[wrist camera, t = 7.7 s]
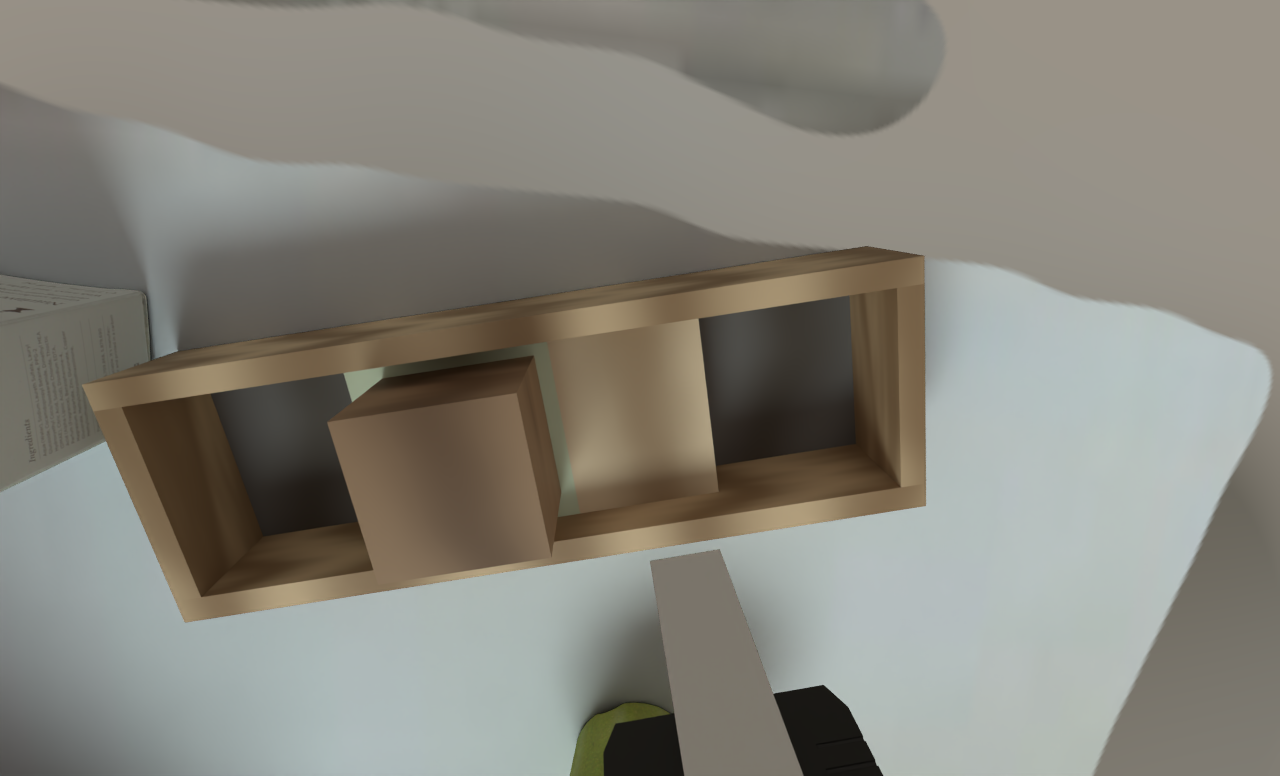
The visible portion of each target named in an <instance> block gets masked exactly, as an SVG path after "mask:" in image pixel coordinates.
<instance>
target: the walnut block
mask: <svg viewBox="0 0 1280 776" xmlns="http://www.w3.org/2000/svg"><path fill="white" fill-rule="evenodd" d="M327 423H328V427H329V430H330V433H331V436H332V439H333V443H334V446H335V449H336V452H337V455H338V459H339V462H340V465H341V468H342V471H343V474H344V478H345V481H346V484H347V487H348V490H349V494H350V497H351V500H352V503H353V506H354V509H355V513H356V516H357V519H358V522H359V525H360V529H361V532H362V535H363V538H364V541H365V544H366V548H367V551H368V554H369V557H370V560H371V564H372V567H373V570H374V573H375V576H376V579H377V583H378V585H380V584H386V583H393V582H399V581H405V580H412V579H418V578H425V577H431V576H437V575H444V574H450V573H457V572H463V571H469V570H476V569H482V568H489V567H495V566H502V565H508V564H514V563H521V562H527V561H534V560H540V559H546V558H552V551H553V545H554V538H555V531H556V524H557V518H558V511H559V504H560V498H561V488H560V483H559V478H558V473H557V468H556V463H555V458H554V453H553V448H552V443H551V438H550V433H549V428H548V423H547V418H546V413H545V408H544V403H543V398H542V393H541V388H540V383H539V378H538V373H537V368H536V363H535V358H534V355H533V356H526V357H520V358H513V359H506V360H500V361H493V362H487V363H480V364H474V365H467V366H461V367H454V368H447V369H441V370H434V371H428V372H421V373H415V374H408V375H401V376H395V377H388V378H382V379H381V380H380V381H378V382H377V383H376V384H375V385H373V386H372V387H371V388H370V389H368V390H367V391H366V392H365V393H363V394H362V395H361V396H359V397H358V398H357V399H356V400H354V401H353V402H352V403H351V404H349V405H348V406H347V407H346V408H344V409H343V410H342V411H340V412H339V413H338V414H337V415H335V416H334V417H333V418H332V419H330V420H329V421H328V422H327Z"/></svg>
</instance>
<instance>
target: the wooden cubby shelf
mask: <svg viewBox="0 0 1280 776" xmlns="http://www.w3.org/2000/svg"><path fill="white" fill-rule="evenodd" d="M533 355H534V358H535V363H536V368H537V373H538V378H539V383H540V388H541V393H542V398H543V403H544V408H545V413H546V418H547V423H548V428H549V433H550V438H551V443H552V448H553V453H554V458H555V463H556V468H557V473H558V478H559V483H560V488H561V498H560V504H559V511H558V518H557V524H556V531H555V538H554V545H553V551H552V558H546V559H540V560H534V561H527V562H521V563H514V564H508V565H502V566H495V567H489V568H482V569H476V570H469V571H463V572H457V573H450V574H444V575H437V576H431V577H425V578H418V579H412V580H405V581H399V582H393V583H386V584H380V585H378V583H377V579H376V576H375V573H374V570H373V567H372V564H371V560H370V557H369V554H368V551H367V548H366V544H365V541H364V538H363V535H362V532H361V529H360V525H359V522H358V519H357V516H356V513H355V509H354V506H353V503H352V500H351V497H350V494H349V490H348V487H347V484H346V481H345V478H344V474H343V471H342V468H341V465H340V462H339V459H338V455H337V452H336V449H335V446H334V443H333V439H332V436H331V433H330V430H329V427H328V423H327V422H328V421H329V420H330V419H332V418H333V417H334V416H335V415H337V414H338V413H339V412H340V411H342V410H343V409H344V408H346V407H347V406H348V405H349V404H351V403H352V402H353V401H354V400H356V399H357V398H358V397H359V396H361V395H362V394H363V393H365V392H366V391H367V390H368V389H370V388H371V387H372V386H373V385H375V384H376V383H377V382H378V381H380V380H381V379H382V378H388V377H395V376H401V375H408V374H415V373H421V372H428V371H434V370H441V369H447V368H454V367H461V366H467V365H474V364H480V363H487V362H493V361H500V360H506V359H513V358H520V357H526V356H533ZM82 387H83V389H84V391H85V394H86V396H87V398H88V400H89V403H90V405H91V407H92V410H93V412H94V414H95V417H96V419H97V421H98V423H99V426H100V428H101V430H102V433H103V435H104V437H105V440H106V442H107V444H108V447H109V449H110V451H111V453H112V456H113V458H114V460H115V463H116V465H117V467H118V470H119V472H120V474H121V476H122V479H123V481H124V483H125V486H126V488H127V490H128V493H129V495H130V497H131V499H132V502H133V504H134V506H135V509H136V511H137V513H138V516H139V518H140V520H141V523H142V525H143V527H144V529H145V532H146V534H147V536H148V539H149V541H150V543H151V546H152V548H153V550H154V552H155V555H156V557H157V559H158V562H159V564H160V566H161V569H162V571H163V573H164V576H165V578H166V580H167V582H168V585H169V587H170V589H171V592H172V594H173V596H174V599H175V601H176V603H177V605H178V608H179V610H180V612H181V615H182V617H183V619H184V622H192V621H198V620H204V619H211V618H217V617H223V616H230V615H236V614H242V613H249V612H255V611H262V610H268V609H274V608H281V607H287V606H293V605H300V604H306V603H312V602H319V601H325V600H331V599H338V598H344V597H350V596H357V595H363V594H369V593H376V592H382V591H389V590H395V589H401V588H408V587H414V586H420V585H427V584H433V583H439V582H446V581H452V580H458V579H465V578H471V577H477V576H484V575H490V574H496V573H503V572H509V571H515V570H522V569H528V568H535V567H541V566H547V565H554V564H560V563H566V562H573V561H579V560H585V559H592V558H598V557H604V556H611V555H617V554H623V553H630V552H636V551H642V550H649V549H655V548H662V547H668V546H674V545H681V544H687V543H693V542H700V541H706V540H712V539H719V538H725V537H731V536H738V535H744V534H750V533H757V532H763V531H769V530H776V529H782V528H789V527H795V526H801V525H808V524H814V523H820V522H827V521H833V520H839V519H846V518H852V517H858V516H865V515H871V514H877V513H884V512H890V511H896V510H903V509H909V508H916V507H922V506H926V439H925V283H924V256H922V255H916V254H910V253H904V252H898V251H892V250H886V249H880V248H874V247H868V246H865V247H859V248H852V249H845V250H839V251H832V252H826V253H819V254H813V255H806V256H800V257H793V258H787V259H780V260H773V261H767V262H760V263H754V264H747V265H741V266H734V267H728V268H721V269H714V270H708V271H701V272H695V273H688V274H682V275H675V276H669V277H662V278H656V279H649V280H642V281H636V282H629V283H623V284H616V285H610V286H603V287H597V288H590V289H584V290H577V291H570V292H564V293H557V294H551V295H544V296H538V297H531V298H525V299H518V300H511V301H505V302H498V303H492V304H485V305H479V306H472V307H466V308H459V309H453V310H446V311H439V312H433V313H426V314H420V315H413V316H407V317H400V318H394V319H387V320H381V321H374V322H367V323H361V324H354V325H348V326H341V327H335V328H328V329H322V330H315V331H308V332H302V333H295V334H289V335H282V336H276V337H269V338H263V339H256V340H250V341H243V342H236V343H230V344H223V345H217V346H210V347H204V348H197V349H191V350H184V351H177V352H174V353H171V354H169V355H166V356H163V357H160V358H157V359H154V360H151V361H148V362H146V363H143V364H140V365H137V366H134V367H131V368H128V369H126V370H123V371H120V372H117V373H114V374H111V375H108V376H105V377H103V378H100V379H97V380H94V381H91V382H88V383H85V384H82Z"/></svg>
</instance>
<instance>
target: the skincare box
mask: <svg viewBox="0 0 1280 776" xmlns="http://www.w3.org/2000/svg"><path fill="white" fill-rule="evenodd" d="M148 361H150V338H149V324H148V313H147V300H146V295H145V294H144V293H142V292H141V291H137V290H128V289H107V288H97V287H87V286H78V285H69V284H61V283H54V282H46V281H39V280H32V279H25V278H18V277H13V276H7V275H1V274H0V492H2V491H4V490H6V489H8V488H10V487H12V486H14V485H16V484H18V483H20V482H23V481H25V480H27V479H29V478H31V477H33V476H35V475H37V474H39V473H41V472H43V471H45V470H47V469H49V468H51V467H53V466H56V465H58V464H60V463H62V462H64V461H66V460H68V459H70V458H72V457H74V456H76V455H78V454H80V453H82V452H85V451H87V450H89V449H91V448H93V447H95V446H97V445H99V444H101V443H103V442H105V441H106V440H105V437H104V435H103V433H102V430H101V428H100V426H99V423H98V421H97V419H96V417H95V414H94V412H93V410H92V407H91V405H90V403H89V400H88V398H87V396H86V394H85V391H84V389H83V387H82V384H85V383H88V382H91V381H94V380H97V379H100V378H103V377H105V376H108V375H111V374H114V373H117V372H120V371H123V370H126V369H128V368H131V367H134V366H137V365H140V364H143V363H146V362H148Z"/></svg>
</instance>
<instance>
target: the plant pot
mask: <svg viewBox="0 0 1280 776" xmlns="http://www.w3.org/2000/svg"><path fill="white" fill-rule="evenodd" d="M667 714H670V713H669V712H667V711H665V710H663V709H661V708H659V707H657V706H653V705H650V704H644V703H625V704H622V705H620V706H619V707H617V708H615V709H613V710H611V711H609V712H606V713H602V714H597V715H595V716H594V717H593V718H592V719H590V720H589V721H588V723H587V724H586V725H585V726H584V728H583V729H582V731H581V733H580V735H579V737H578V740H577V744H576V749H575V754H574V758H573V763H572V768H571V773H570V776H604V764H603V752H604V750H605V747H606V745H607V742H608V740H609V737H610V735H611V733H612V730H613V728H614V725H615V724H616V723H622V722H627V721H633V720H639V719H644V718H650V717H656V716H661V715H667Z"/></svg>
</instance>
